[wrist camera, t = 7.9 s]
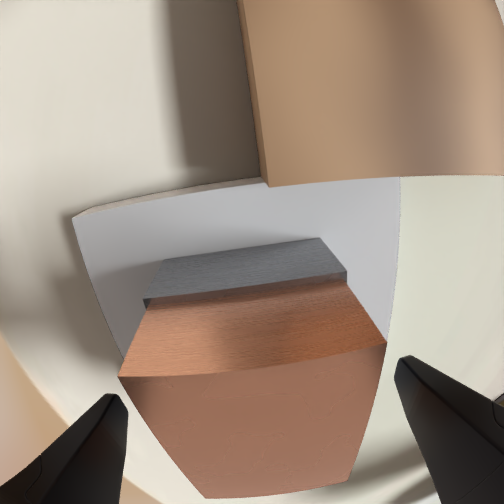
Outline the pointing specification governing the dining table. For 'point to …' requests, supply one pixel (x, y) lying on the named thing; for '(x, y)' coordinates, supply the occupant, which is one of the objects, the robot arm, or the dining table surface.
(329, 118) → the walnut plinth
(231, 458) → the housing
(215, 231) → the ceramic tile
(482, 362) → the dining table surface
